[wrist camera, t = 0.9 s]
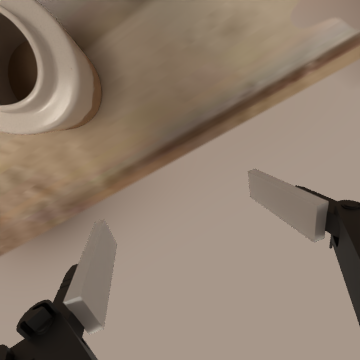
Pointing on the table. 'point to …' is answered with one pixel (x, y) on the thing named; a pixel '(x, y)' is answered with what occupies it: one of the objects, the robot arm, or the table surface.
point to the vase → (42, 73)
